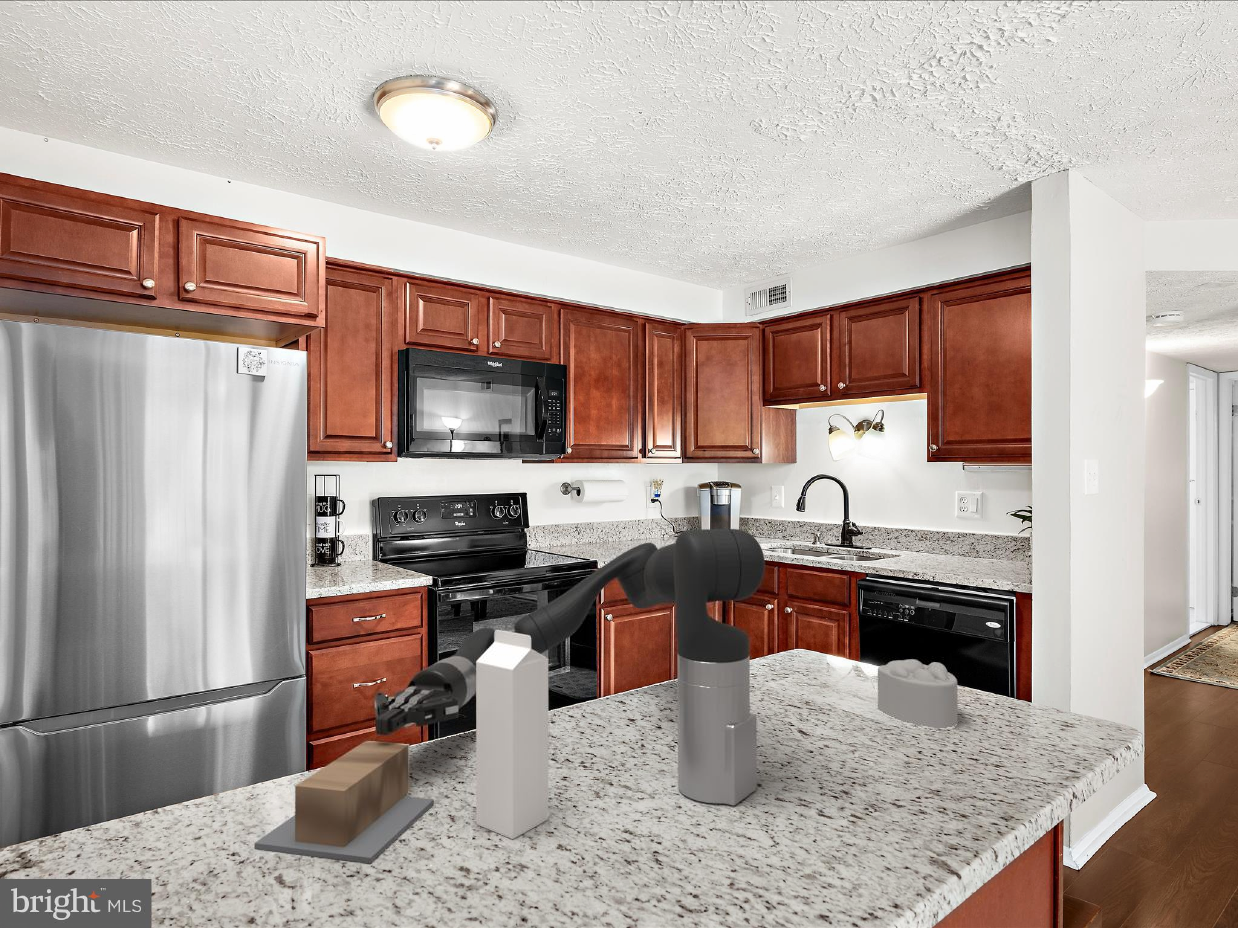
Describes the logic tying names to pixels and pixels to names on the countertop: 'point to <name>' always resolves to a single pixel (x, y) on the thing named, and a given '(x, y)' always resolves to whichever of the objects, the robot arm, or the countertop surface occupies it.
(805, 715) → the countertop surface
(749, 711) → the robot arm
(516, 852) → the countertop surface
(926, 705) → the lumpy-topped squat cylinder
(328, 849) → the mat
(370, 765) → the light wood block
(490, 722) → the milk
